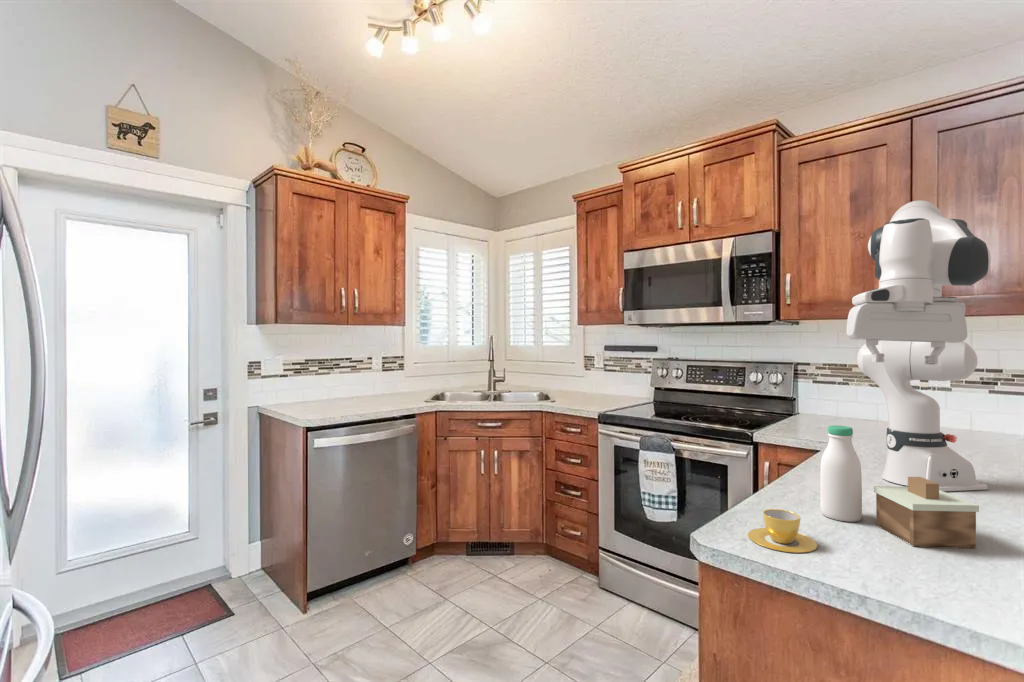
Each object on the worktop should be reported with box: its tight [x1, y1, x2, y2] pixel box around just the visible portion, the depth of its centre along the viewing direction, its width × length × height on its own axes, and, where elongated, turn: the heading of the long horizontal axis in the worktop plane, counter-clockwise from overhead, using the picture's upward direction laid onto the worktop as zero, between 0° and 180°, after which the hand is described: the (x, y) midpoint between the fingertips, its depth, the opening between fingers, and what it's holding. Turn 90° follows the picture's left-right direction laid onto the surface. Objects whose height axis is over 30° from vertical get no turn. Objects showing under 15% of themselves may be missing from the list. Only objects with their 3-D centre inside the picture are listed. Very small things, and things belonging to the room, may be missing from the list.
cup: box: [747, 508, 818, 554], centre depth 98 cm, size 12×12×5 cm
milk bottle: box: [819, 425, 863, 523], centre depth 111 cm, size 8×8×20 cm
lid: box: [873, 477, 980, 513], centre depth 100 cm, size 12×12×4 cm
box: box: [875, 493, 977, 549], centre depth 100 cm, size 11×11×7 cm
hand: (904, 363), depth 102 cm, fingers open, 8 cm apart
